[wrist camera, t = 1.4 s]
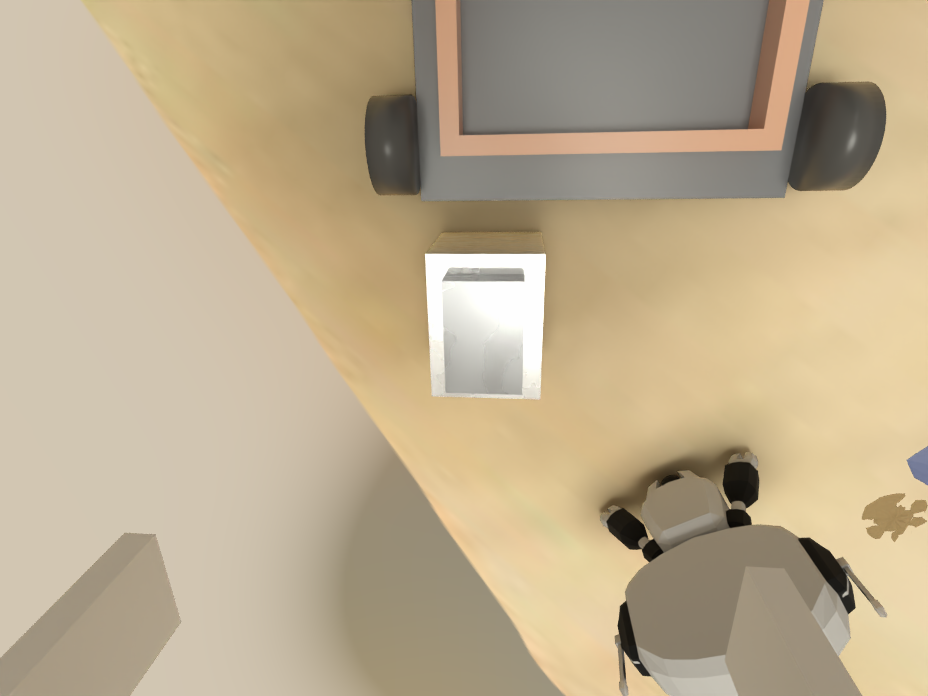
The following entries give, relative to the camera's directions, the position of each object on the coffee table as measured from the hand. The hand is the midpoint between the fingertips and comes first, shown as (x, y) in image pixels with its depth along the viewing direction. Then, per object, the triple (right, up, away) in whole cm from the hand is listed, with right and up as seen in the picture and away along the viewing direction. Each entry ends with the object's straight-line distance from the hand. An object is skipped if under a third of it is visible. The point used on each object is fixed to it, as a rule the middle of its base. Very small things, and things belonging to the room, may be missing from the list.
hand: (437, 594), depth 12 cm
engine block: (+2, +9, +22) cm, 24 cm away
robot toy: (+16, -4, +26) cm, 31 cm away
